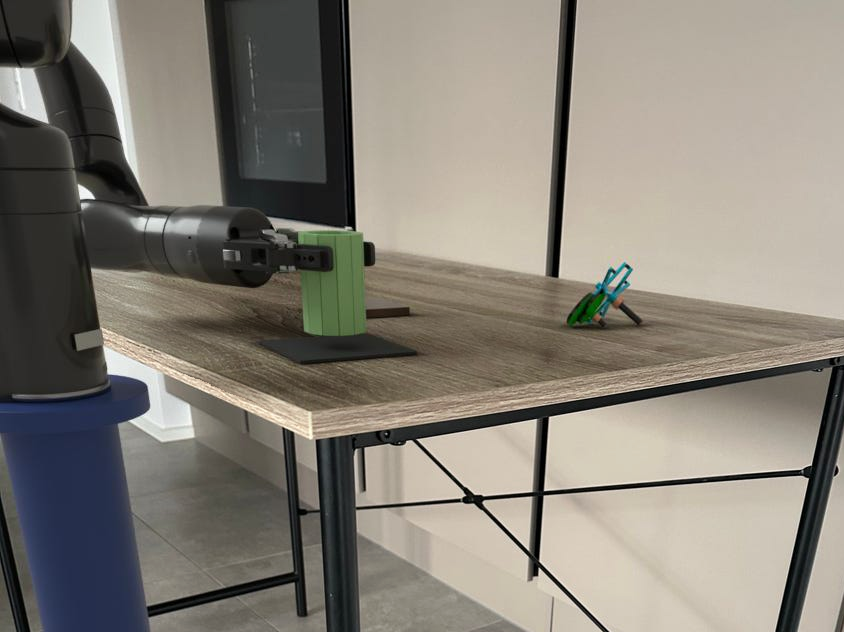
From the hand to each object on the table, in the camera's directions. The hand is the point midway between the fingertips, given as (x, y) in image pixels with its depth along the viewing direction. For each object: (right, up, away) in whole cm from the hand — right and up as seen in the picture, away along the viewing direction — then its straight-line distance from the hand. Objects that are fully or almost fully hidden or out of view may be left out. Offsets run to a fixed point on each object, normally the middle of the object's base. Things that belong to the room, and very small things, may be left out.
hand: (352, 256), depth 89 cm
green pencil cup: (-2, -6, +4) cm, 7 cm away
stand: (-3, +5, +28) cm, 29 cm away
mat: (-2, -7, +5) cm, 9 cm away
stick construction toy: (+27, +1, +22) cm, 35 cm away
